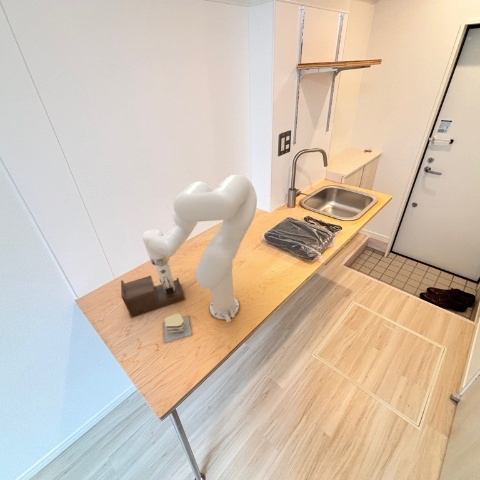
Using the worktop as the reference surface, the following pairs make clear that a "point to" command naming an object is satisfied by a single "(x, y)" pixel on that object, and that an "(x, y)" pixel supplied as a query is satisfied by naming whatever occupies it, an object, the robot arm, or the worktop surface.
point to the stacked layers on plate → (176, 327)
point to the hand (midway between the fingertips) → (169, 287)
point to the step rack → (147, 295)
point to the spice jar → (169, 284)
